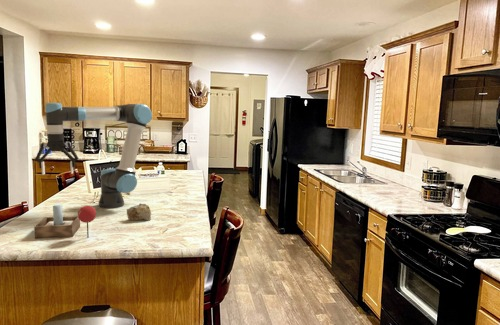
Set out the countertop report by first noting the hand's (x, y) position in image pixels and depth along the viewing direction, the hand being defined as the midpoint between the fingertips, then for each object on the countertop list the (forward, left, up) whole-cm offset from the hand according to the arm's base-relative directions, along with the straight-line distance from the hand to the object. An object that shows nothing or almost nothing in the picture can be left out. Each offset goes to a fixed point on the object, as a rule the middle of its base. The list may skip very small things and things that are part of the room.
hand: (58, 174), depth 198 cm
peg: (-5, +20, -24) cm, 32 cm away
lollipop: (-20, +30, -26) cm, 44 cm away
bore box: (-5, +20, -25) cm, 32 cm away
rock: (-41, +1, -26) cm, 48 cm away
